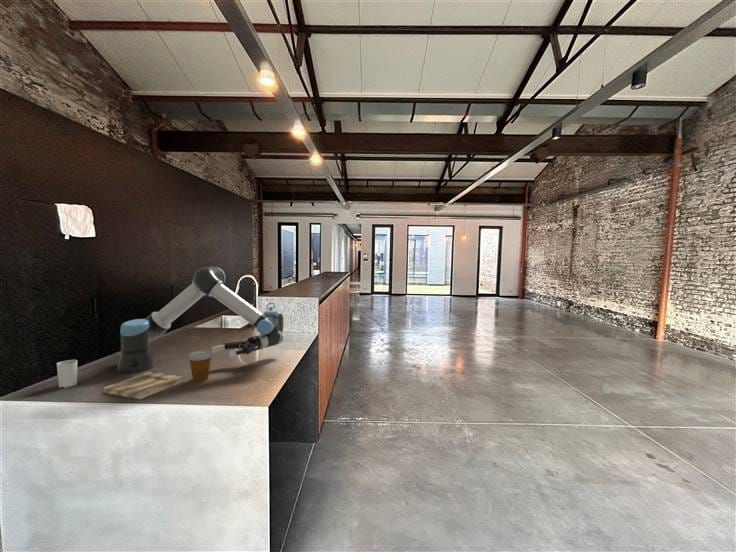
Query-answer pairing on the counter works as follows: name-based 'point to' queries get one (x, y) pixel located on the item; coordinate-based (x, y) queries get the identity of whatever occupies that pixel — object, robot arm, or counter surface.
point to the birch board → (143, 385)
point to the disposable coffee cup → (200, 365)
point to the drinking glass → (67, 373)
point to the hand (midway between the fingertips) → (220, 352)
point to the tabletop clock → (280, 319)
